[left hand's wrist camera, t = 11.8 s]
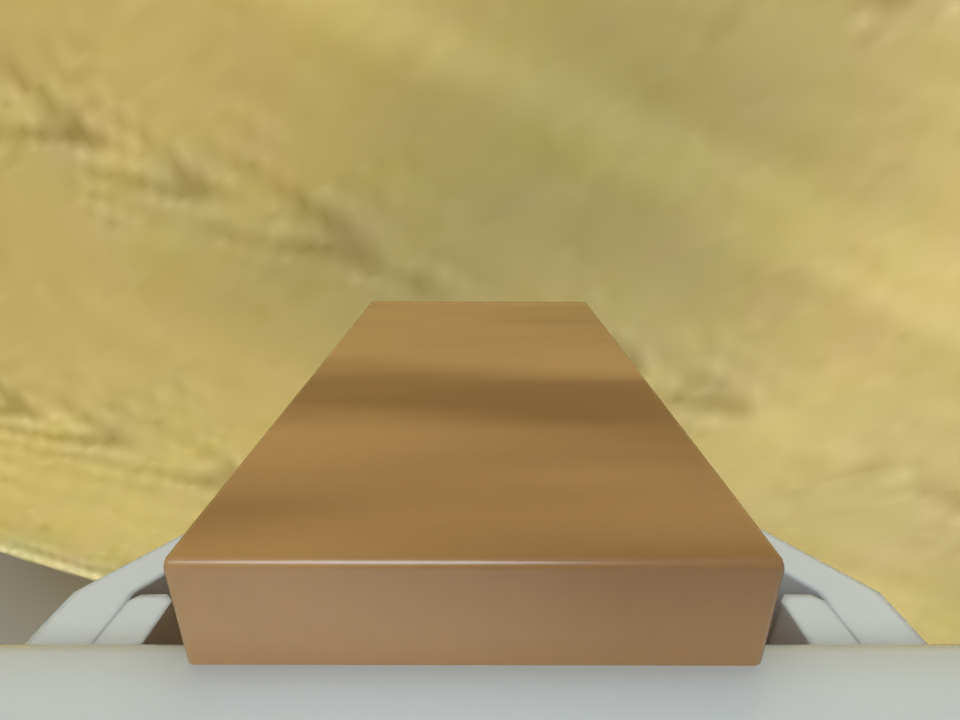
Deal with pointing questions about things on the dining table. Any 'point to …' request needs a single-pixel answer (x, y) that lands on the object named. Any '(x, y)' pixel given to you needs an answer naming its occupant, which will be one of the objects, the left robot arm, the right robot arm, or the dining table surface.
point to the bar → (475, 511)
